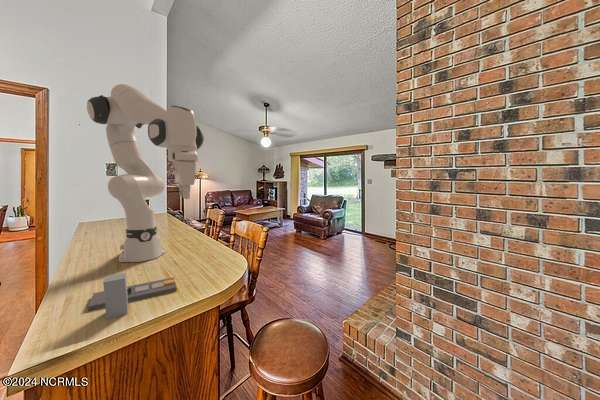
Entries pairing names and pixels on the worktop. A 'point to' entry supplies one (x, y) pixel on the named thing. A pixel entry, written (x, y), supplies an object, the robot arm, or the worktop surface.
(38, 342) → the worktop surface
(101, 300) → the power strip
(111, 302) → the grey rectangular block
